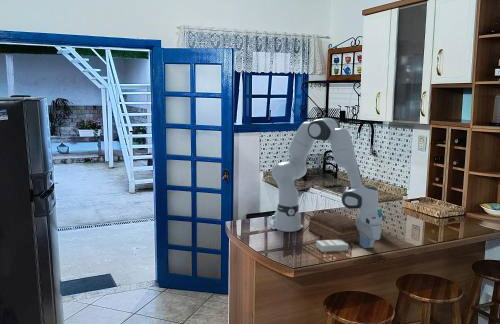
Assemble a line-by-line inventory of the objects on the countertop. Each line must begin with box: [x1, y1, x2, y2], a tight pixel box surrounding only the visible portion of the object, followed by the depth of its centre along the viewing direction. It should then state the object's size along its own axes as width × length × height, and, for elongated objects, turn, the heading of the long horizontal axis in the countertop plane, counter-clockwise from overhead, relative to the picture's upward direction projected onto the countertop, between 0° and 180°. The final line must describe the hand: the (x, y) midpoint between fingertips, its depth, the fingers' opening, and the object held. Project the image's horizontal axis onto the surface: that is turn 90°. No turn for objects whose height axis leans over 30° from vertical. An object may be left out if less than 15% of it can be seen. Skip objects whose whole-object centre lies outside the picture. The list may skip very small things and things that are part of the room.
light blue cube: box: [359, 235, 374, 249], centre depth 229 cm, size 5×5×5 cm
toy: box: [377, 206, 386, 234], centre depth 249 cm, size 10×10×15 cm
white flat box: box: [315, 239, 349, 253], centre depth 225 cm, size 8×14×3 cm, turn 103°
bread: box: [307, 212, 360, 244], centre depth 247 cm, size 17×29×11 cm, turn 28°
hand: (366, 243), depth 229 cm, fingers open, 8 cm apart
